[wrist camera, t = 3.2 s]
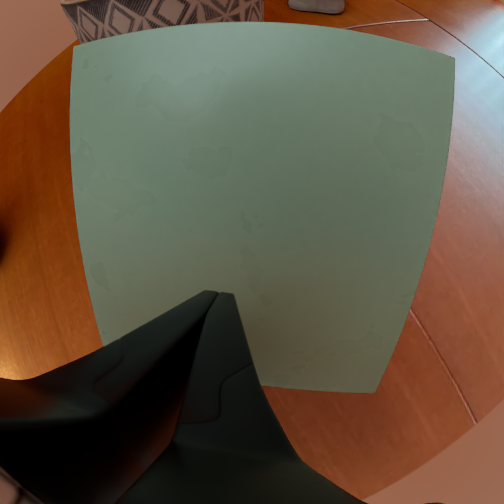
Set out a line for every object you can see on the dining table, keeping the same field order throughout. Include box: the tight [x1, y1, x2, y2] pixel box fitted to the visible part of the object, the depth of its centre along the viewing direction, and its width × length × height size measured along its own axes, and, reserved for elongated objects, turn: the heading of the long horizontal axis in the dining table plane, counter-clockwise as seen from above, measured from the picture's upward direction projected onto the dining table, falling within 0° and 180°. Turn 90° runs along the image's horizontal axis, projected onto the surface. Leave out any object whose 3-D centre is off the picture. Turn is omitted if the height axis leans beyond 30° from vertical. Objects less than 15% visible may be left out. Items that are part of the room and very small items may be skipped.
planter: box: [60, 0, 264, 44], centre depth 25 cm, size 19×19×16 cm
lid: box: [70, 22, 455, 393], centre depth 11 cm, size 14×14×1 cm
